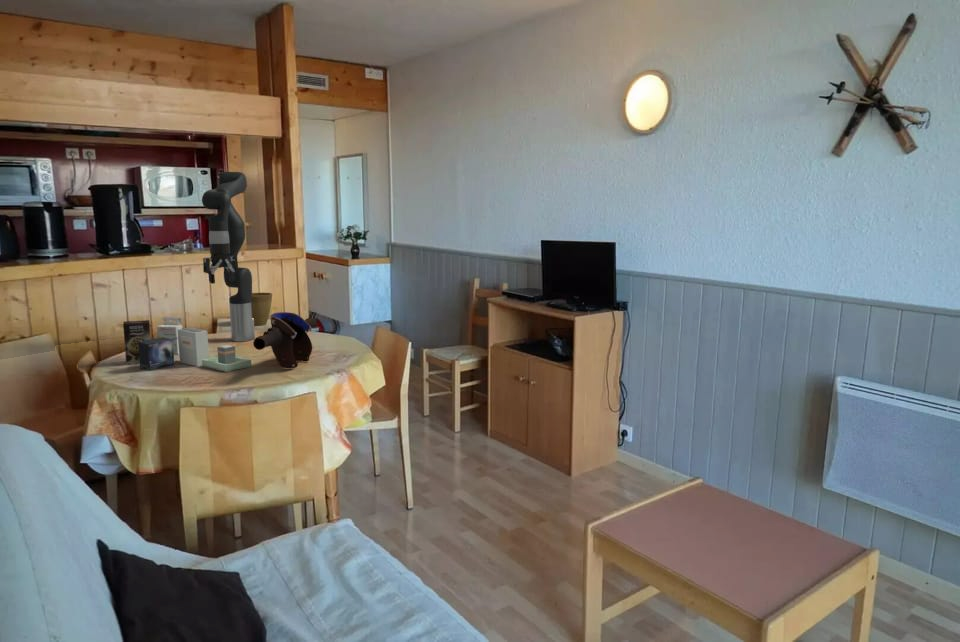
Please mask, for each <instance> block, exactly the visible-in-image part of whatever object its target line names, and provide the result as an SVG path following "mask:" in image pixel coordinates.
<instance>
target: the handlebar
mask: <svg viewBox="0 0 960 642" xmlns="http://www.w3.org/2000/svg"><path fill="white" fill-rule="evenodd" d="M270 324H271V327H269V328H267V330H266V331H264V332H263V333H262V334H263V335H260V336H257V337H255V339H253V341H252V343H253V344H252V345H253V347H254V349H256V350H258V351H259V350H260V351H261V350H264V348H268V347H271V350H272V351H271V352H272V353H273V355H274V357H275V359H276V361H277V364H278V365H279V367H281V368H283V369H295V368H296V369H297V368H298V362H309V360H310V356H311V355H312V351H313V344H312V340H311V339H310V337H309V335H308V333H309V332H310V330H311V329H313V328H316V327H317V325H318V324H317V319H316V318H314V317H312V316H310V317H308V318H306V319H304V318H303V317H302V316H300V315H299V314H297V313H294V312H287V311H286V312H282V311H281V312H275V313H272V314H271V315H270Z"/></svg>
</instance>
